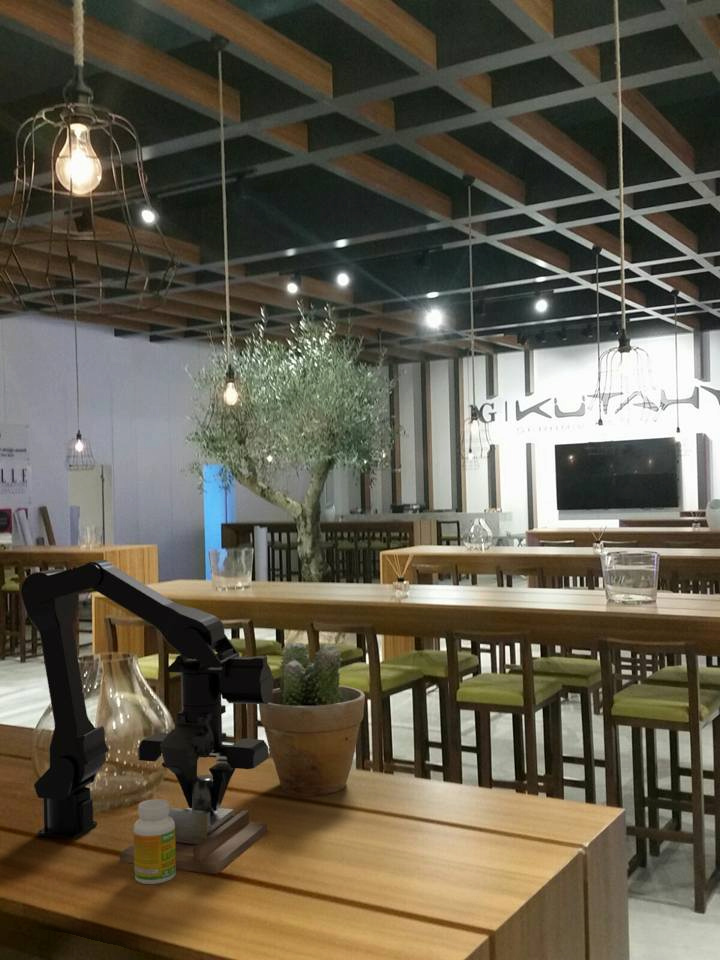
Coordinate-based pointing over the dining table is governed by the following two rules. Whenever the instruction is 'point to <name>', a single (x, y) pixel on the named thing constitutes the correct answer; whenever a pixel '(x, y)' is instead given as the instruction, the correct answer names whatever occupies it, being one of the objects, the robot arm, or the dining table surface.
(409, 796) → the dining table surface
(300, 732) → the potted plant
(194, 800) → the metal press slider
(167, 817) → the supplement bottle
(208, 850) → the press bed
